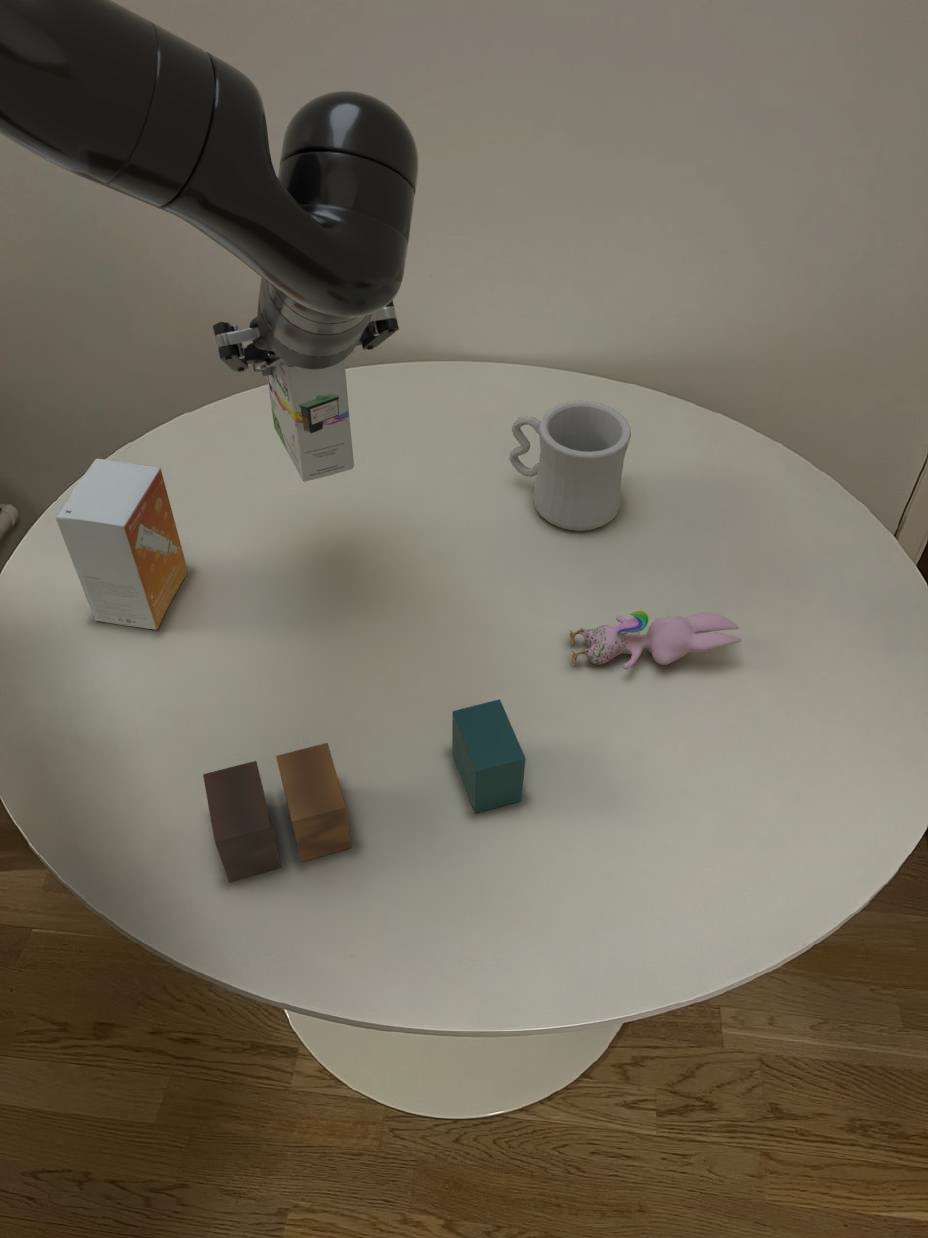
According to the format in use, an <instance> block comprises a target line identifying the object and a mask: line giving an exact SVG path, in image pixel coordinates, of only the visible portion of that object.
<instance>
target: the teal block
mask: <svg viewBox="0 0 928 1238" xmlns="http://www.w3.org/2000/svg"><path fill="white" fill-rule="evenodd" d="M451 716H452V718H451V719H452V722H451V723H452V726H451V728H452V729H451V730H452V731H451V732H452V733H451V735H452V736H451V737H452V738H451V740H452V741H451V743H452V744H451V748H452V749H451V752H452V754H451V756H452V757H453V760H454V763H455V766H456V769H457V770H458V773H459V776H460V778H461V781H462V784H463V787H464V790H465V792H466V794H467V797H468V799H469V800H468V801H469V802H470V805H471V808H472V810H473V813H474V814H478V813H483V812H487V811H489V810H492V809H497V808H501V807H505V806H507V805H510V804H511V805H512V804H514V803H518V802H522V798H523V790H524V789H523V788H524V781H525V769H526V756H525V754H524V751H523V749H522V747H521V744H520V742H519V740H518V738H517V735H516V733H515V731H514V728H513V726H512V724H511V722H510V719H509V716H508V714H507V712H506V710H505V707H504V705H503V703H502V701H501V699H500V698H499V699H495V700H490V701H487V702H483V703H479V704H475V705H471V706H467V707H464V708H459V709H456V710H455V709H454V710H453V711H452V714H451Z"/></svg>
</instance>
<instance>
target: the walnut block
mask: <svg viewBox="0 0 928 1238" xmlns="http://www.w3.org/2000/svg"><path fill="white" fill-rule="evenodd" d="M202 777H203V782H204V788H205V794H206V799H207V806H208V812H209V816H210V817H209V818H210V821H211V827H212V833H213V838H214V844H215V847H216V849H217V853H218V855H219V859H220V861H221V864H222V867H223V870H224V872H225V873H224V874H225V875H226V878H227V881H228V883H230V882H235V881H238V880H241V879H245V878H248V877H253V876H256V875H260V874H262V873H267V872H270V871H274V870H278V869H280V868H282V865H281V859H280V854H279V851H278V846H277V842H276V838H275V837H276V836H275V832H274V829H273V824H272V823H273V822H272V819H271V814H270V810H269V806H268V802H267V798H266V793H265V789H264V786H263V782H262V777H261V774H260V770H259V766H258V762H257V761H256V760H254V761H250V762H245V763H242V764H238V765H235V766H230V767H225V768H222V769H218V770H214V771H211V772H207V773H206V772H205V773H203V774H202Z"/></svg>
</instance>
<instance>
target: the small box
mask: <svg viewBox="0 0 928 1238" xmlns="http://www.w3.org/2000/svg"><path fill="white" fill-rule="evenodd" d="M164 479H165V478H164V476H163V472H162V468H161V467H158V466H153V465H152V466H151V465H144V464H137V463H131V462H123V461H118V460H117V461H116V460H110V459H102V458H95V459H94V460H93V462H92V463H91V465H90V466H89V467H88V469H87V470H86V472H85V473H84V475H83V476H82V477H81V478H80V480H79V481H78V482H77V483H76V485H75V486H74V487H73V489H72V490H71V492H70V494H69V495H68V498H67V499H66V501H65V502H64V503H63V505H62V506H61V508H60V510H59V511H58V512H57V514H56V515H55V520H56V523H57V526H58V528H59V531H60V533H61V536H62V539H63V541H64V544H65V546H66V549H67V551H68V555H69V556H70V559H71V561H72V564H73V567H74V569H75V572H76V575H77V578H78V579H79V582H80V585H81V588H82V590H83V592H84V596H85V598H86V601H87V603H88V605H89V609H90V611H91V614H92V616H93V619H94V621H96V622H100V623H101V622H102V623H107V624H114V625H120V626H128V627H135V628H142V629H148V630H159V628H160V625H161V623H162V620H163V618H164V616H165V614H166V612H167V611H168V609H169V607H170V605H171V603H172V601H173V599H174V597H175V596H176V593H177V592H178V590H179V588H180V586H181V584H182V582H183V580H184V579H185V577H186V575H187V574H188V572H189V571H188V570H189V569H188V565H187V561H186V558H185V554H184V550H183V547H182V542H181V539H180V536H179V532H178V529H177V525H176V524H177V523H176V521H175V516H174V513H173V509H172V507H171V502H170V499H169V494H168V491H167V487H166V483H165V480H164Z"/></svg>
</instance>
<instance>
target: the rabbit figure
mask: <svg viewBox="0 0 928 1238" xmlns="http://www.w3.org/2000/svg"><path fill="white" fill-rule="evenodd" d="M629 616H632V617H630V618H628V619H626V618H625V617H624V616H622V615H621V614H618V615H616V617H615V620H616V621H617V622H619V624H618V625H617V626H615V627H614V626H612V625H606V624H604V625H599V626H597V627H594V628H589V629H587V628H583V627H581V628H579V629H578V630H576V631H574V632H573V631H572V630H571V629H569V632H570V633H569V639H570V642H571V644H570V646H572V645H573V644H574V641H575V637H576V636H577V635H582V636H583V638H584V640H585V643H586V645H587V646H588V648H584V649H582V650H580V651H578V652H575V651H574V650H571V653H572V654H571V659H572V663H573V664H572V666H576V664H577V659H578V657H579V656H580V655H585V656H586V657H587V659H588V660H589V661H590V663H592V665H593V664H594V665H604V664H606V663H608V662H609V661H612V660H613V659H614V658H616V657H617V656H619V655H621V654H625V655H631V657H630V659H629V660H628V661H626V662H625V663H624V664H623V669H624V670H629V669H631V668H632V666H634V665H635V664H636V663H637V661H638V660H639V658H640V657H641V655H642V652H643V649H647V651H648V652H649V653H650V654H651V655H652V658H653V660H654V661H655V662H656V664H659V665H662V666H667V665H669V664H672V663H674V662H675V661H678V660H679V659H681V658H683V657H684V656H686V655H687V654H690V653H699V652H700V653H701V652H705V651H709V650H713V649H717V648H720V647H724V646H729V645H732V644H737V643H740V642H742V639H743V638H741V637H739V636H736V635H732V634H729V633H724V632H719V631H729V630H738V629H739V625H738V624H737V623H735V622H734V621H732V620H731V618H729V617H726V616H724V615H722V614H720V613H716V612H697V613H694V614H691V615H689V616H688V617H682V616H677V615H668V616H662V617H657V618H655V619H654V620H653V621H651V622H650V624H649V615H648V614H647V613H646V612H645V611H644V610H643V611H642V610H636V611H634V612H631V613H630V614H629ZM648 625H649V627H648V629H647V632H646V633H645V634H642V633H640V632H641V631H643V630H644V629H645V628H646V627H647V626H648Z"/></svg>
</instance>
